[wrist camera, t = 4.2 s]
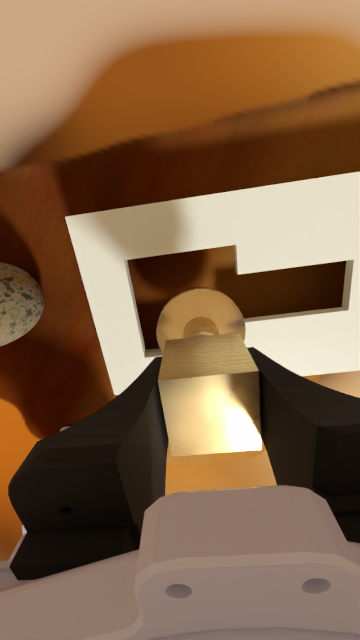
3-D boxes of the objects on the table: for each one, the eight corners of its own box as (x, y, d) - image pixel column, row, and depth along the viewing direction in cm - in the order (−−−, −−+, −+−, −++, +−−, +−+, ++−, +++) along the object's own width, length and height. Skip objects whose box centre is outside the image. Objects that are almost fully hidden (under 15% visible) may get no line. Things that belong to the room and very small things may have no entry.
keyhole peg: (164, 369, 19) (146, 481, 10) (151, 292, 17) (115, 352, 8) (244, 361, 18) (293, 471, 10) (240, 281, 16) (297, 333, 8)
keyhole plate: (124, 370, 24) (114, 395, 21) (87, 218, 19) (65, 216, 16) (379, 343, 23) (415, 364, 19) (407, 169, 18) (462, 155, 14)
